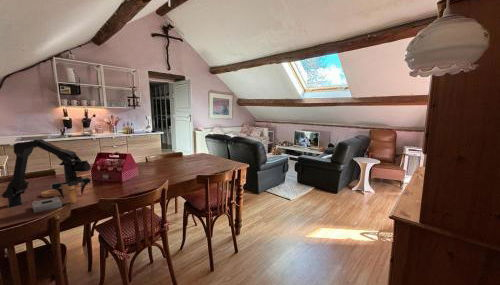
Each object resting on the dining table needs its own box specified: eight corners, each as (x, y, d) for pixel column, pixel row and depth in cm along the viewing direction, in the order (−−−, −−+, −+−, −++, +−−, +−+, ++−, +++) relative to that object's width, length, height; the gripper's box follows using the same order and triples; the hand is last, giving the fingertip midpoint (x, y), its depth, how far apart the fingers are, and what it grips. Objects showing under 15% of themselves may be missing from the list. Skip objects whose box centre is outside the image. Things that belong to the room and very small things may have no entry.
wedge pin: (69, 202, 139) (67, 189, 138) (76, 200, 142) (75, 188, 141) (70, 203, 137) (68, 191, 136) (77, 202, 140) (76, 189, 139)
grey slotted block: (32, 207, 132) (32, 201, 131) (59, 201, 141) (58, 196, 140) (34, 213, 124) (33, 206, 123) (62, 206, 132) (61, 200, 132)
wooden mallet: (76, 191, 161) (75, 181, 160) (71, 194, 153) (70, 185, 152) (45, 194, 155) (44, 184, 154) (39, 198, 147) (37, 188, 146)
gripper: (51, 177, 125) (54, 203, 127) (91, 171, 139) (93, 195, 140) (49, 173, 133) (52, 199, 134) (87, 168, 146) (89, 191, 148)
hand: (72, 196), depth 139 cm, fingers open, 9 cm apart
